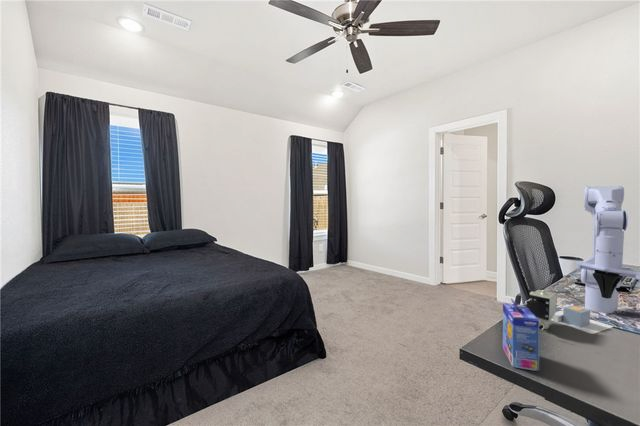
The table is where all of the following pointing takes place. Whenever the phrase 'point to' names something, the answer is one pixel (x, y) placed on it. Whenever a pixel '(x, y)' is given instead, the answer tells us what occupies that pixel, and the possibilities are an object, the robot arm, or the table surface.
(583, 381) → the table surface
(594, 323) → the rail board
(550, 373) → the table surface
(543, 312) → the pneumatic valve
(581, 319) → the block
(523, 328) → the ink cartridge box
